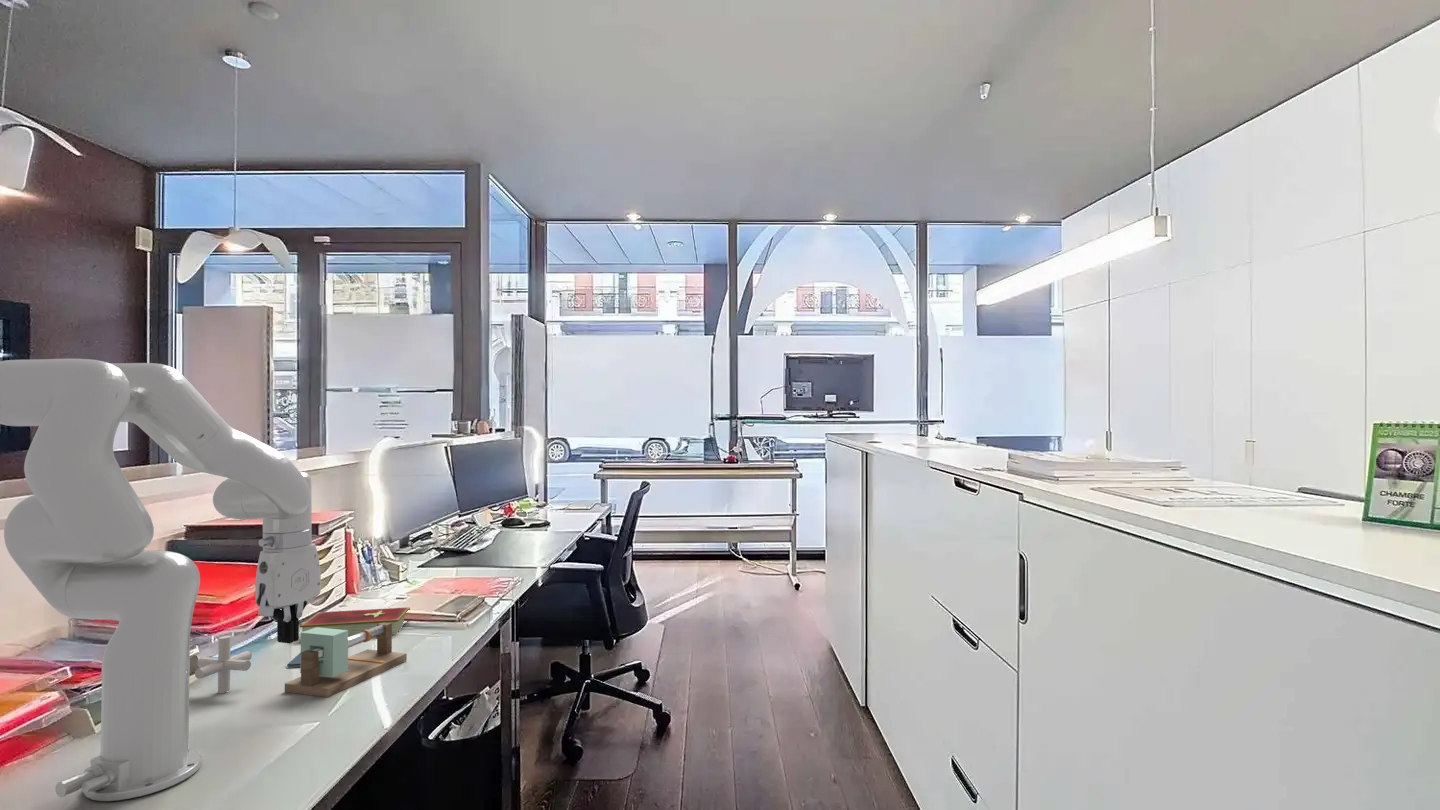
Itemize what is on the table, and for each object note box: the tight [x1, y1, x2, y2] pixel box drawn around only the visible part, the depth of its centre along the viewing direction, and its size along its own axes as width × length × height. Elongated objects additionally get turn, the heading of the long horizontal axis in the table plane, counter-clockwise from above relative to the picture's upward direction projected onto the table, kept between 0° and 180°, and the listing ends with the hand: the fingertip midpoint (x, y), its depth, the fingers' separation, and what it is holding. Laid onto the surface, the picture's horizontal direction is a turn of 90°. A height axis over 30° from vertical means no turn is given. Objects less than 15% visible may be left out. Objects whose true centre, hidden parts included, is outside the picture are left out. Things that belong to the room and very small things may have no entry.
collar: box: [299, 627, 349, 677], centre depth 130 cm, size 4×8×8 cm, turn 74°
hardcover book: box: [299, 606, 411, 637], centre depth 166 cm, size 12×21×4 cm, turn 102°
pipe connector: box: [194, 635, 253, 694], centre depth 128 cm, size 10×10×10 cm
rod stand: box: [284, 622, 408, 698], centre depth 136 cm, size 20×10×8 cm, turn 164°
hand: (288, 641), depth 125 cm, fingers closed
